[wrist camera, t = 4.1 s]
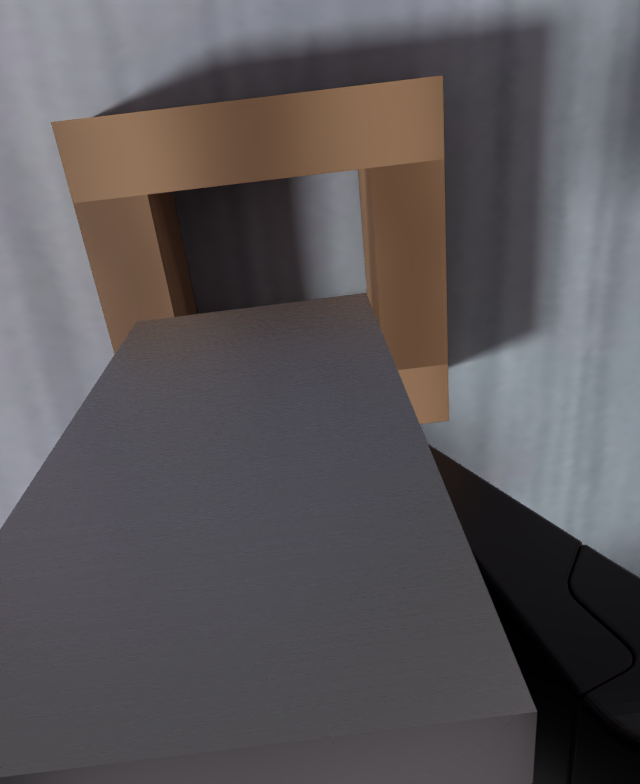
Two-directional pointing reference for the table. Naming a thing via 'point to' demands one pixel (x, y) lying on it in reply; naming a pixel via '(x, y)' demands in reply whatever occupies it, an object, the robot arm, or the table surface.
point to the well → (267, 162)
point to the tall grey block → (251, 575)
